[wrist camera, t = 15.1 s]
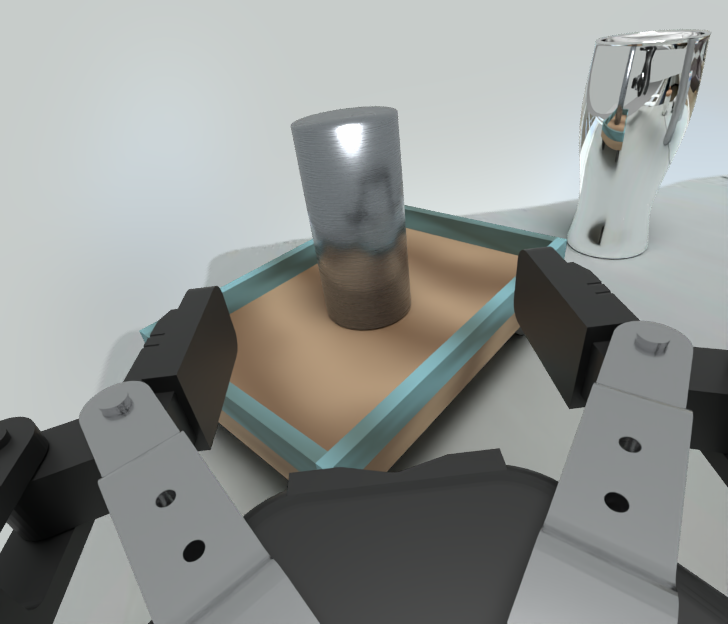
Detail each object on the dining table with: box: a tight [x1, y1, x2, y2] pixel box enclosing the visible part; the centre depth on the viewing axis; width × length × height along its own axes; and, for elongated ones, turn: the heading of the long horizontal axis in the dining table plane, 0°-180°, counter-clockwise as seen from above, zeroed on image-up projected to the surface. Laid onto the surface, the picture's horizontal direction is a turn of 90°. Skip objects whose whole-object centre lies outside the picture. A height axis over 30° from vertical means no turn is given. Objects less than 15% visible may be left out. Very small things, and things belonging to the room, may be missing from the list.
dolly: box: [140, 205, 567, 480], centre depth 26 cm, size 20×14×6 cm
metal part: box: [291, 106, 411, 330], centre depth 23 cm, size 5×5×10 cm
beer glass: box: [567, 29, 711, 259], centre depth 34 cm, size 7×7×15 cm
